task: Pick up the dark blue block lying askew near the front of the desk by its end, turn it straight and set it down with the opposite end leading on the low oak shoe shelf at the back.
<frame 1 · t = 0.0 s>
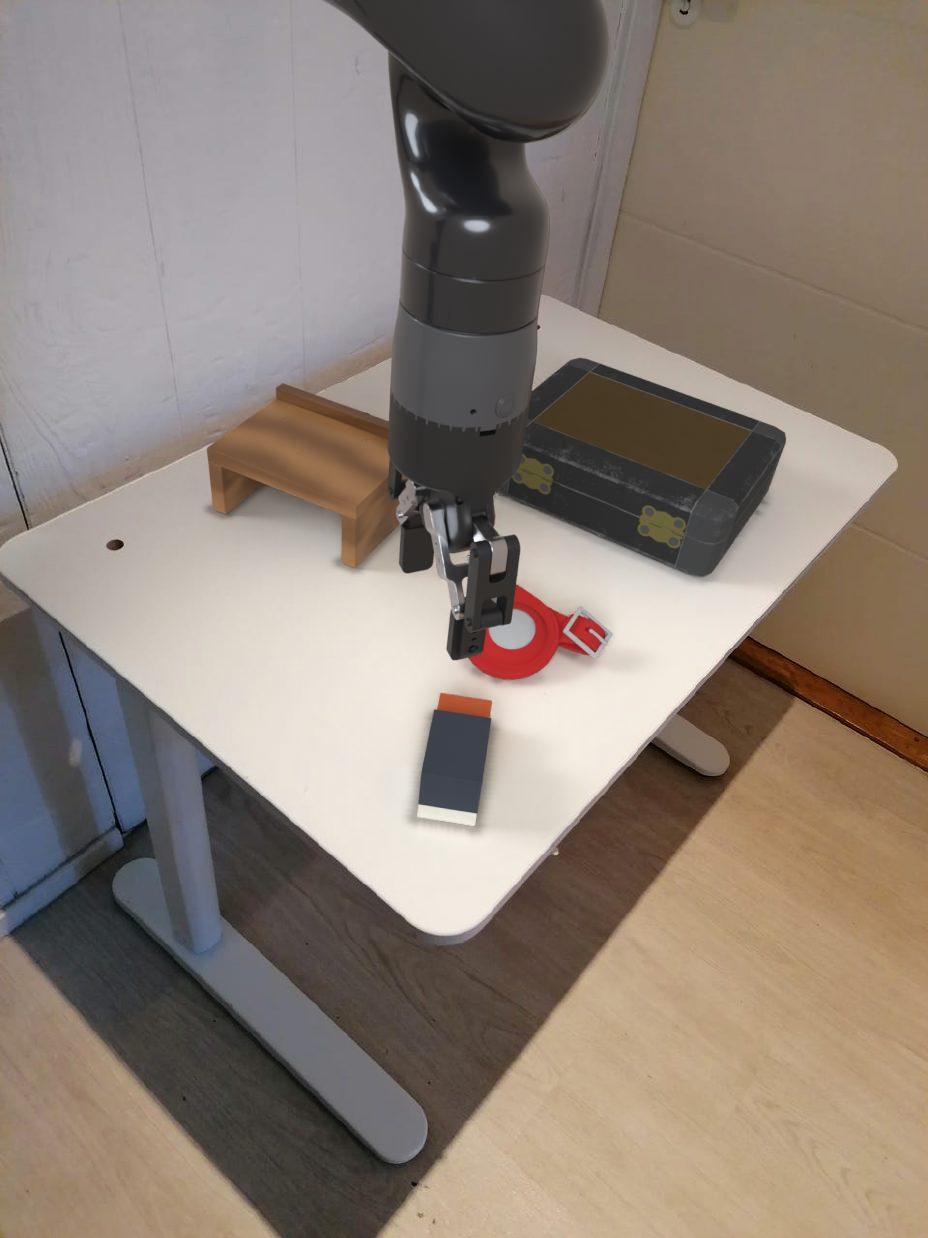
hand: (439, 609, 62), 15 cm above the table, tool pointing down, fingers open, 8 cm apart
shoe shelf: (317, 507, 95), on the table
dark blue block: (452, 783, 72), on the table
tracker holder: (528, 651, 83), on the table
cash box: (628, 490, 102), on the table
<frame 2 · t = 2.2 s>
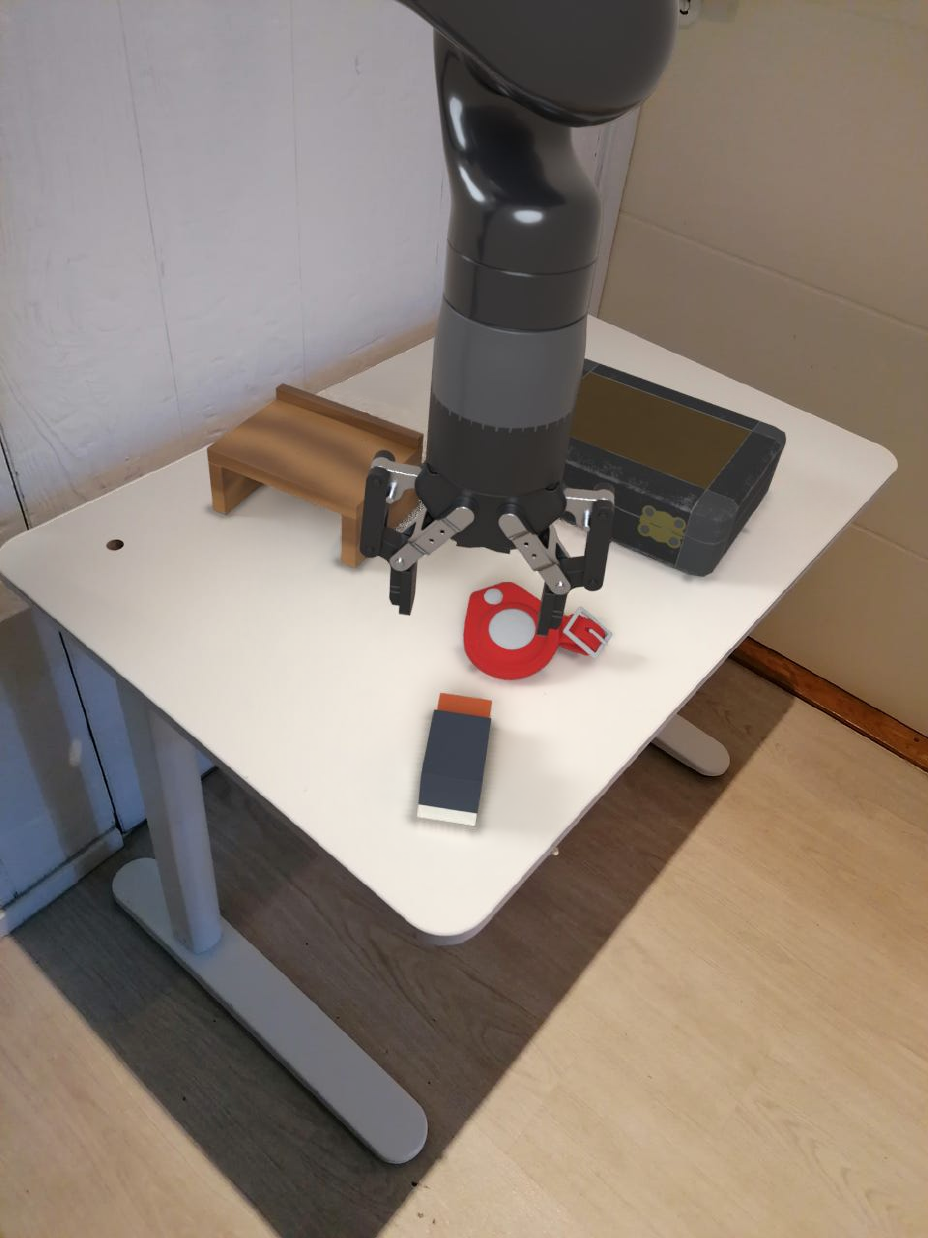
hand: (474, 617, 60), 17 cm above the table, tool pointing down, fingers open, 8 cm apart
nothing on the table moved.
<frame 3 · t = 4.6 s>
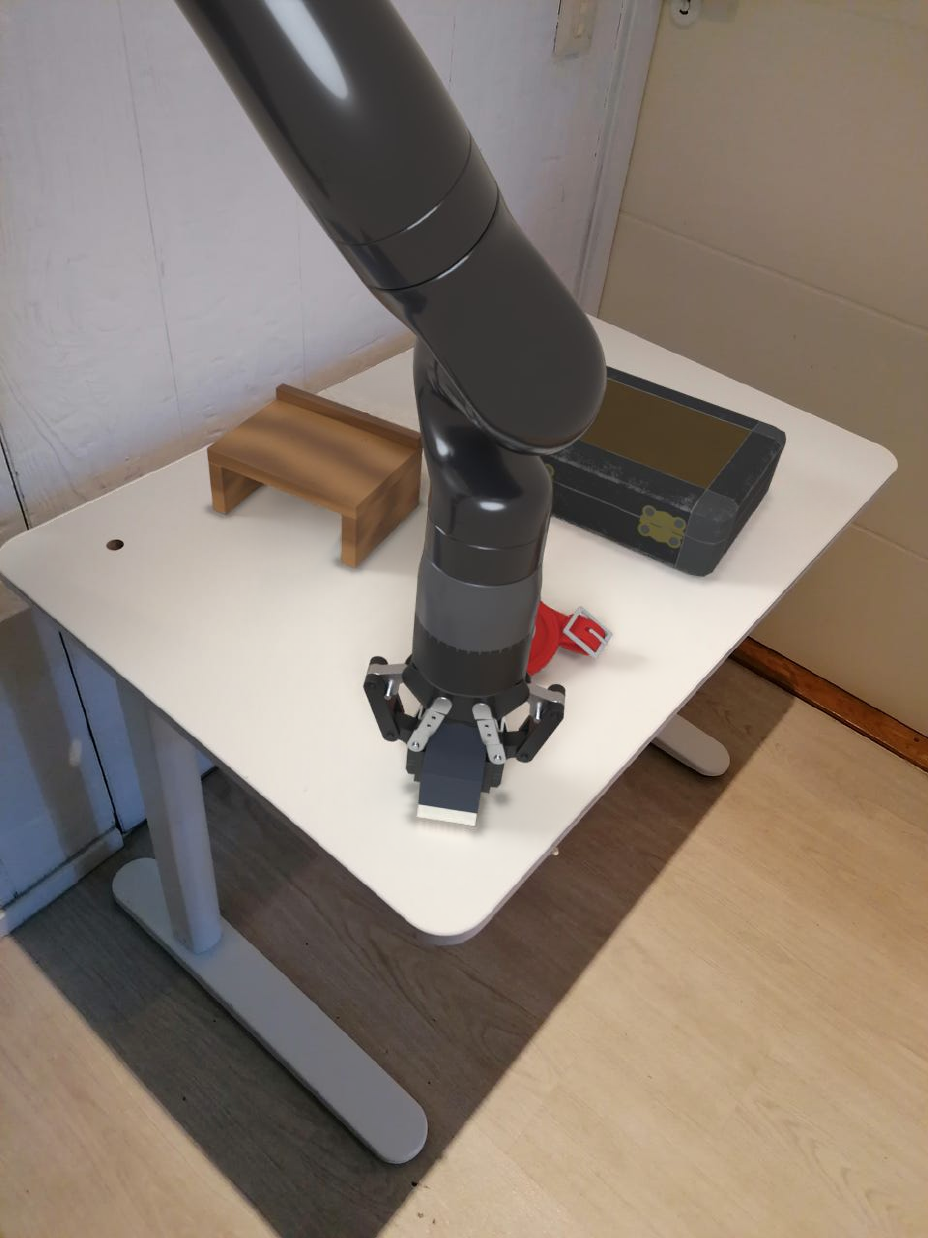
hand: (453, 777, 71), 1 cm above the table, tool pointing down, fingers closed on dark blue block, 4 cm apart
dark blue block: (452, 783, 72), on the table, touching gripper
everything else where it was.
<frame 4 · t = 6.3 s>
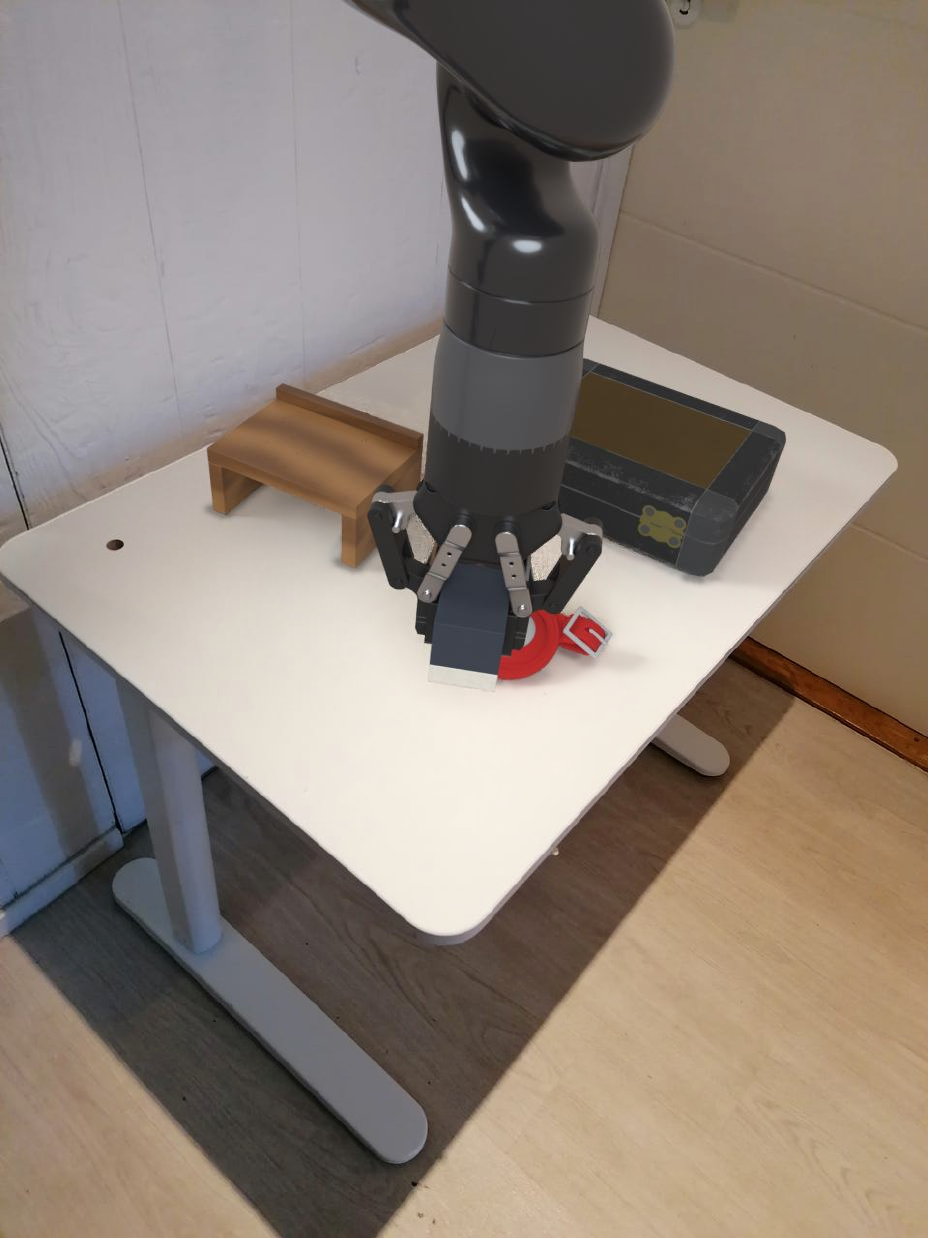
hand: (469, 640, 62), 15 cm above the table, tool pointing down, fingers closed on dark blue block, 4 cm apart
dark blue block: (468, 648, 62), point 14 cm above the table, touching gripper
everything else where it was.
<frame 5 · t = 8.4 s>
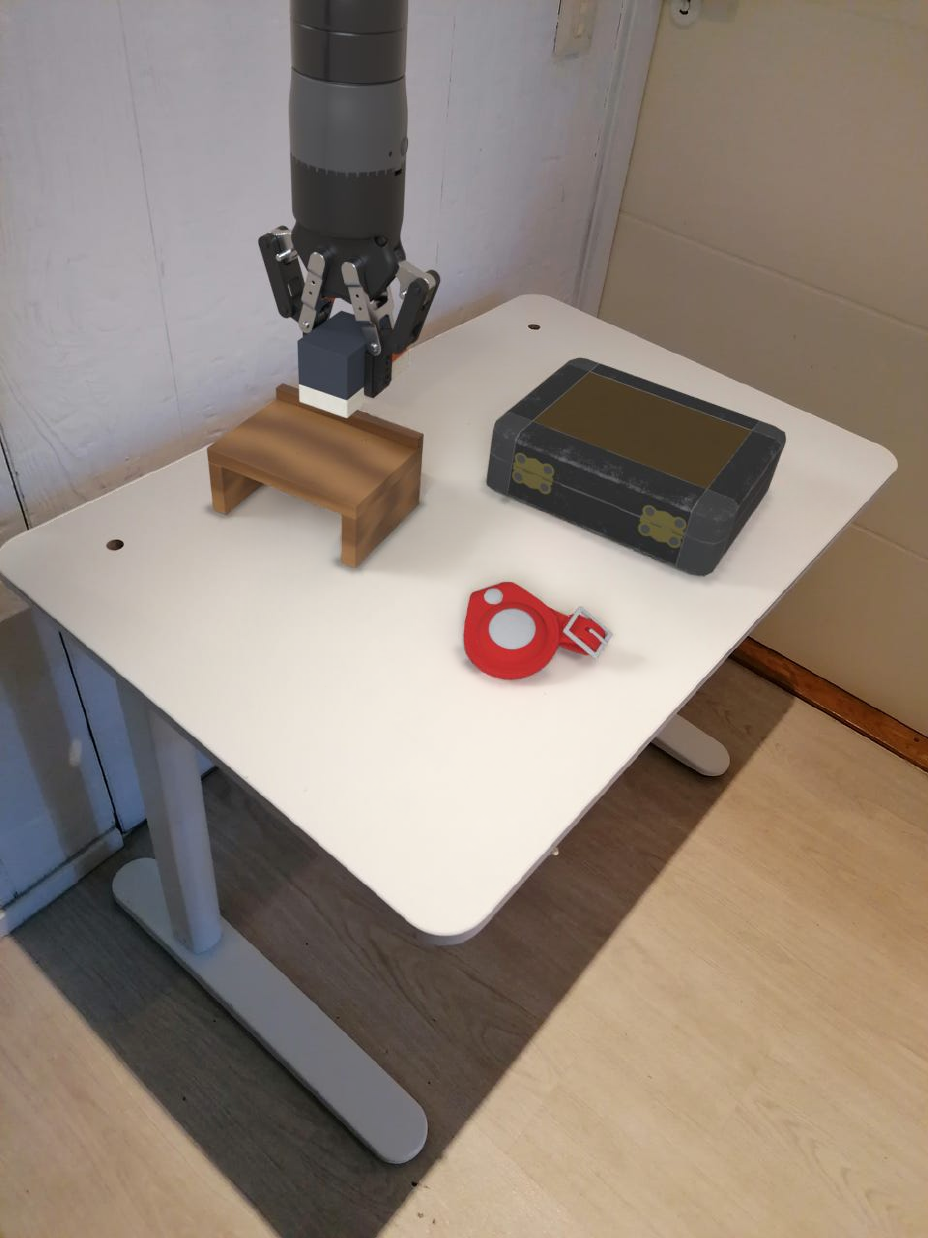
hand: (347, 382, 74), 20 cm above the table, tool pointing down, fingers closed on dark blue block, 4 cm apart
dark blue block: (347, 390, 75), point 19 cm above the table, touching gripper
everything else where it was.
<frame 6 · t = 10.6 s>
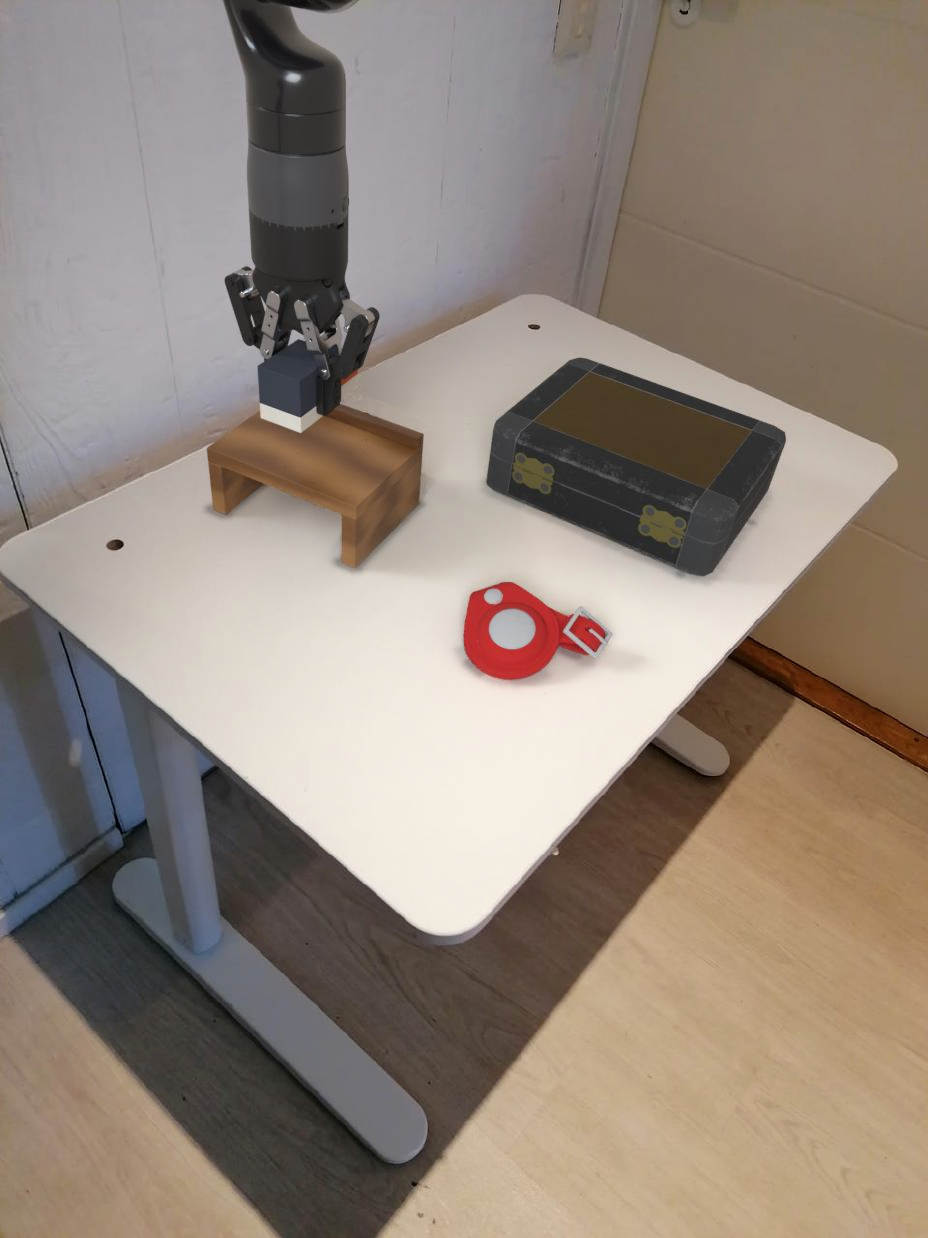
hand: (303, 401, 85), 13 cm above the table, tool pointing down, fingers closed on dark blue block, 4 cm apart
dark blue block: (303, 408, 86), point 12 cm above the table, touching gripper
everything else where it was.
when the fingers open (8 cm above the table, at t = 12.2 s): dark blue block stays where it is, resting on shoe shelf.
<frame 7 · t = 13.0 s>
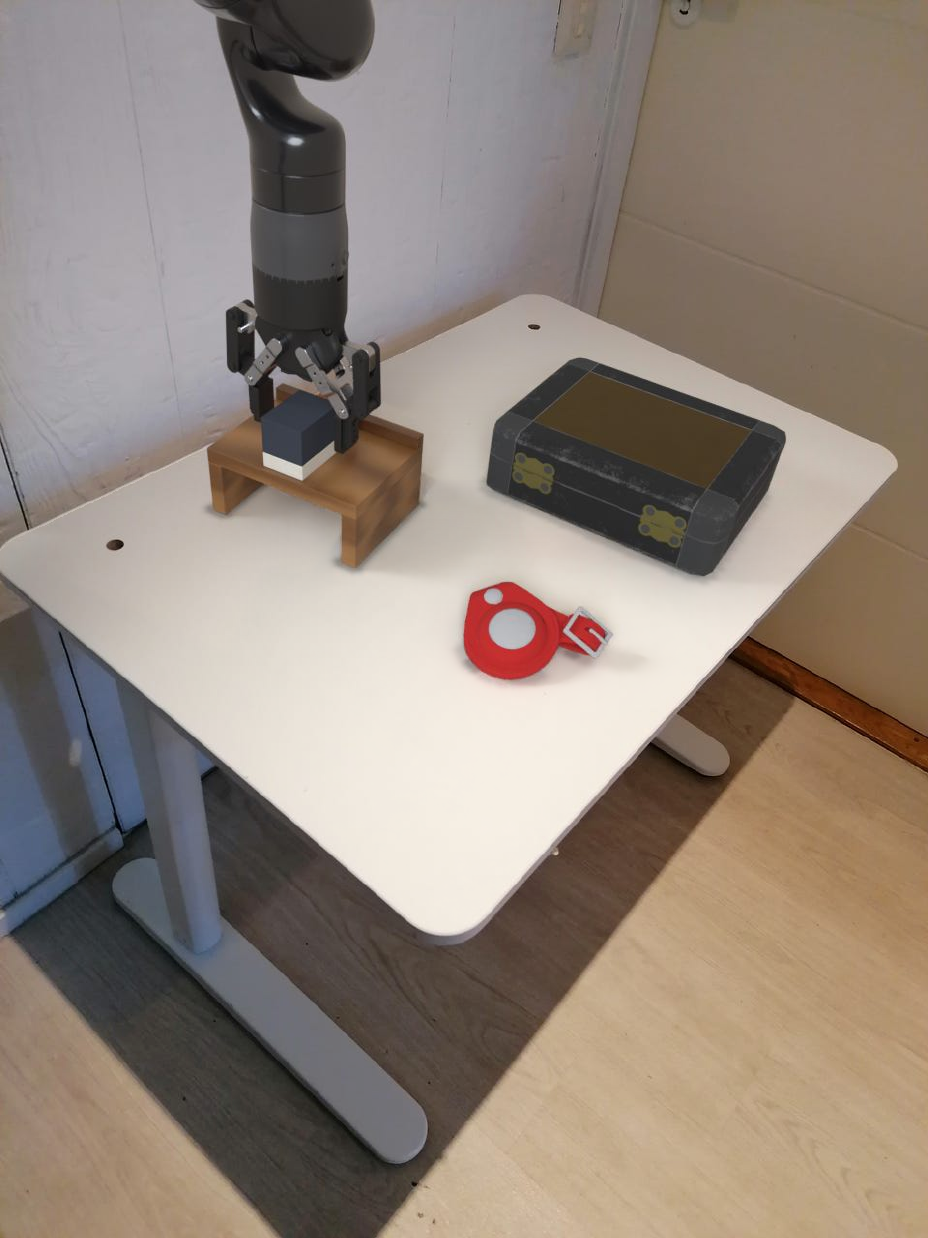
hand: (304, 433, 87), 9 cm above the table, tool pointing down, fingers open, 8 cm apart
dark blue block: (304, 455, 89), point 7 cm above the table, touching shoe shelf
everything else where it was.
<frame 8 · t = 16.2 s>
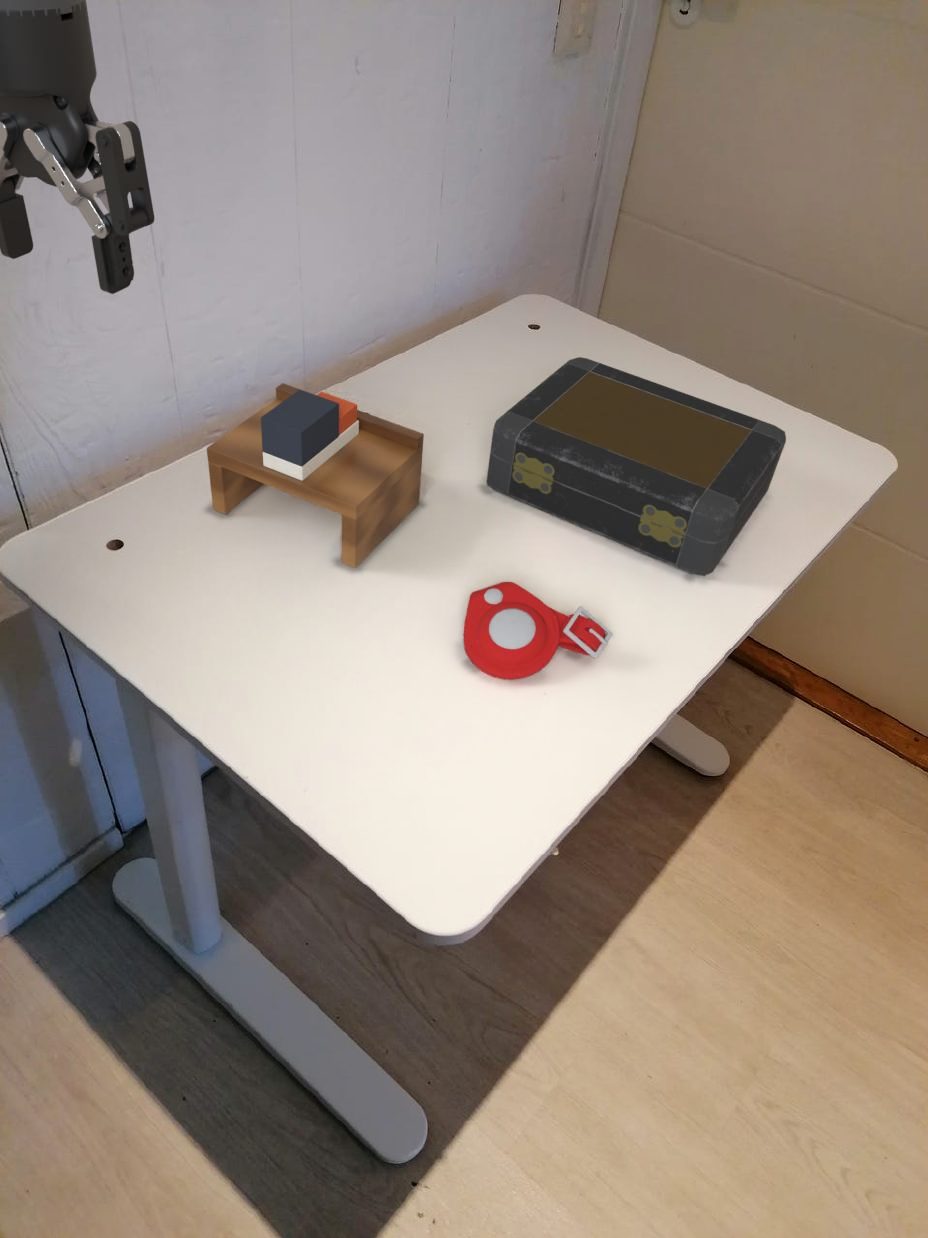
hand: (67, 271, 65), 28 cm above the table, tool pointing down, fingers open, 8 cm apart
nothing on the table moved.
at the end: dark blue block inside the target area on the shoe shelf (0.8 cm from its centre), point 7.0 cm above the shoe shelf's base; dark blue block tilted 0°; the gripper is holding nothing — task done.
